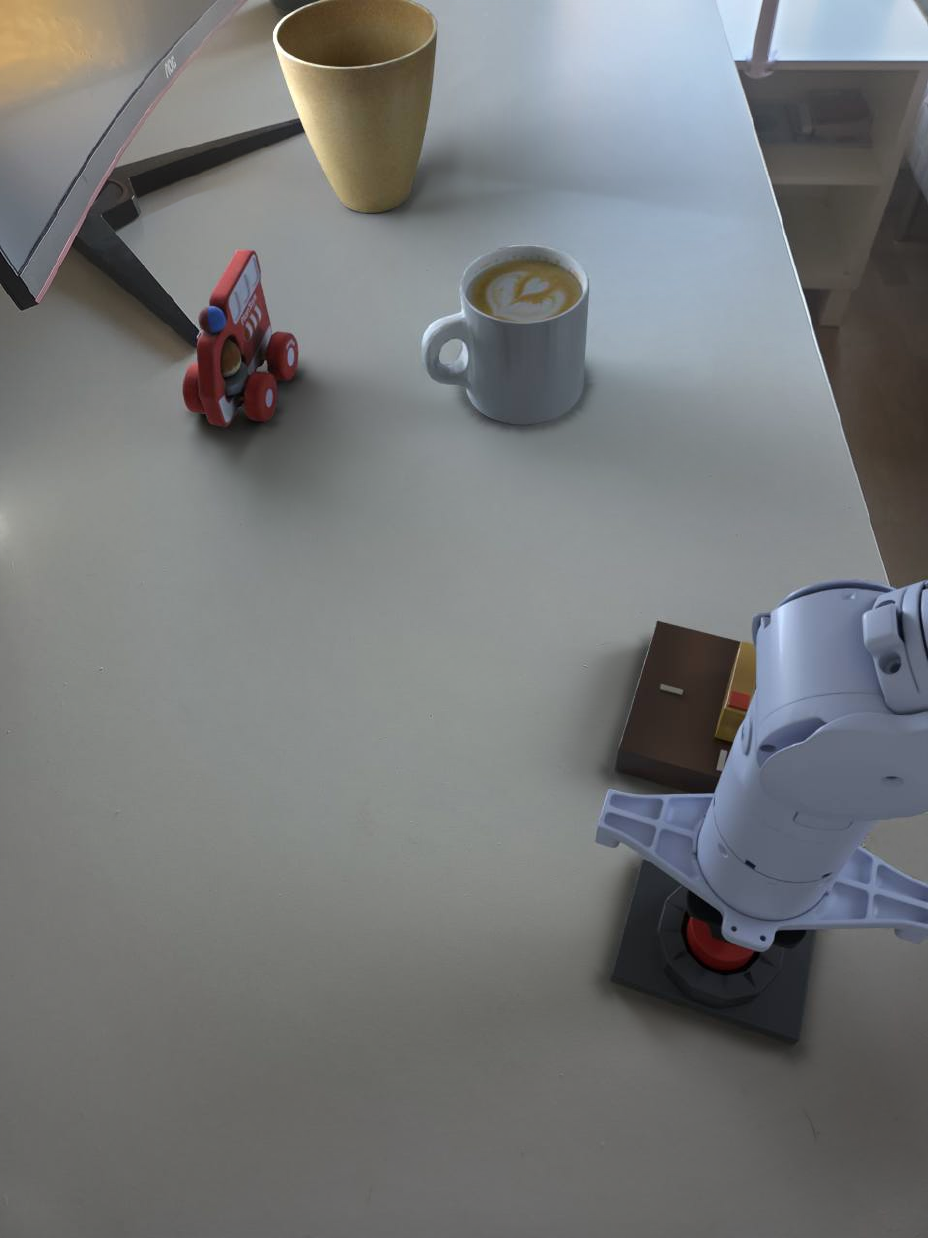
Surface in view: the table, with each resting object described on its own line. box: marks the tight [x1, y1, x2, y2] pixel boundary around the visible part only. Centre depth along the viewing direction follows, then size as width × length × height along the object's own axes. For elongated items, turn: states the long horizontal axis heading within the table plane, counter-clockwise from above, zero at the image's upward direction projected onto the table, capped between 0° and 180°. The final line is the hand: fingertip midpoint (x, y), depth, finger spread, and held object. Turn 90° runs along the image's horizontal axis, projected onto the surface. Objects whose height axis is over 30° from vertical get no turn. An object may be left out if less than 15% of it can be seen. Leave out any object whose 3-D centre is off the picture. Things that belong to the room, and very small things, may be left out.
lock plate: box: [614, 620, 756, 794], centre depth 60 cm, size 12×10×3 cm
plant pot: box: [272, 0, 439, 214], centre depth 93 cm, size 15×15×16 cm
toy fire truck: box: [182, 248, 299, 428], centre depth 79 cm, size 7×12×10 cm, turn 166°
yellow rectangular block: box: [715, 640, 756, 742], centre depth 58 cm, size 5×1×4 cm, turn 160°
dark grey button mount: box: [609, 858, 817, 1046], centre depth 52 cm, size 10×7×3 cm
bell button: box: [687, 917, 755, 971], centre depth 51 cm, size 4×4×2 cm
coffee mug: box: [420, 244, 590, 426], centre depth 77 cm, size 13×10×10 cm
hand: (727, 923), depth 50 cm, fingers closed
